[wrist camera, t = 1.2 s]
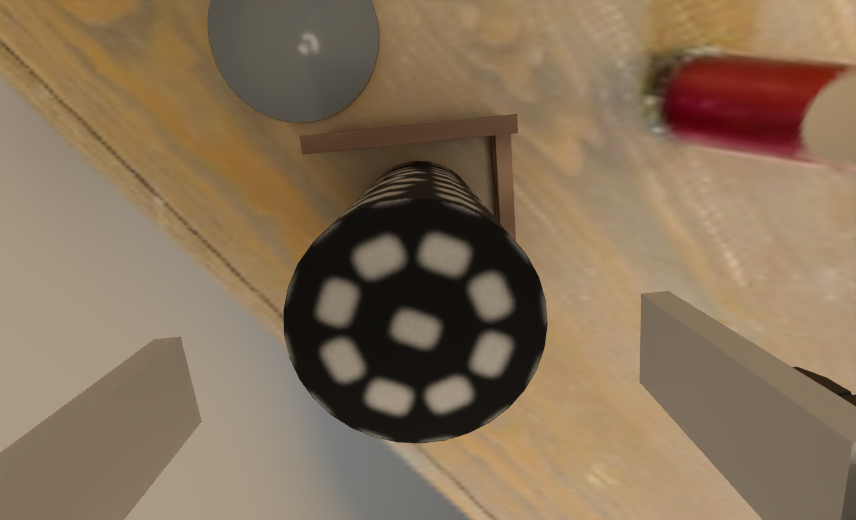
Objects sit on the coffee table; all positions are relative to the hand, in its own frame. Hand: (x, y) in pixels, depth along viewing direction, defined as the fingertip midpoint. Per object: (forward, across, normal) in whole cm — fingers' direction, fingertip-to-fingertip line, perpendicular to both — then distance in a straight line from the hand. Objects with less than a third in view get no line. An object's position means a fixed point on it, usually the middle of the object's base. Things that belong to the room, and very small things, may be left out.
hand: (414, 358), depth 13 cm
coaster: (+21, -7, +14) cm, 26 cm away
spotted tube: (+22, 0, 0) cm, 22 cm away
